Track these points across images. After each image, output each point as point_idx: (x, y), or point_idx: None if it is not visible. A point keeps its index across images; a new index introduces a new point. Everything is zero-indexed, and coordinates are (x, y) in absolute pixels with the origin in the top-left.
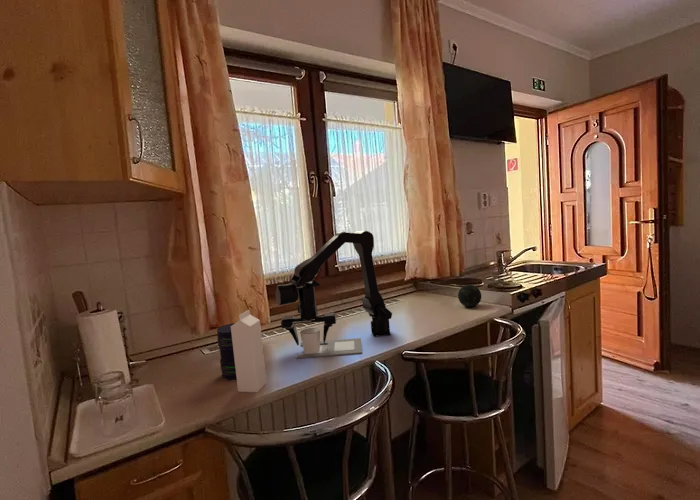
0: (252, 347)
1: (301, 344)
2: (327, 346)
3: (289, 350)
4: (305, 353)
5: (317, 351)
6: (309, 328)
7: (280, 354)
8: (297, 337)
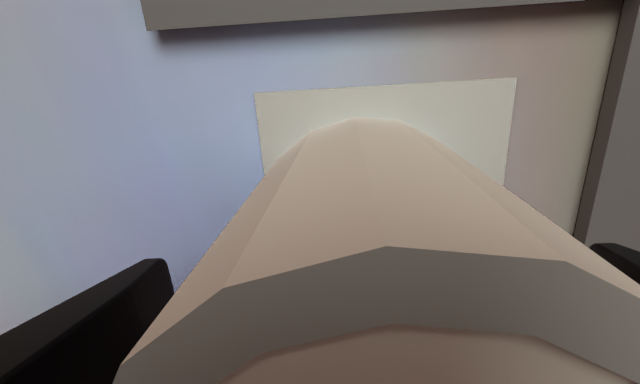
0: None
1: (155, 3)
2: (598, 183)
3: (54, 178)
4: None
5: None
6: (357, 324)
7: (6, 287)
8: (97, 380)
